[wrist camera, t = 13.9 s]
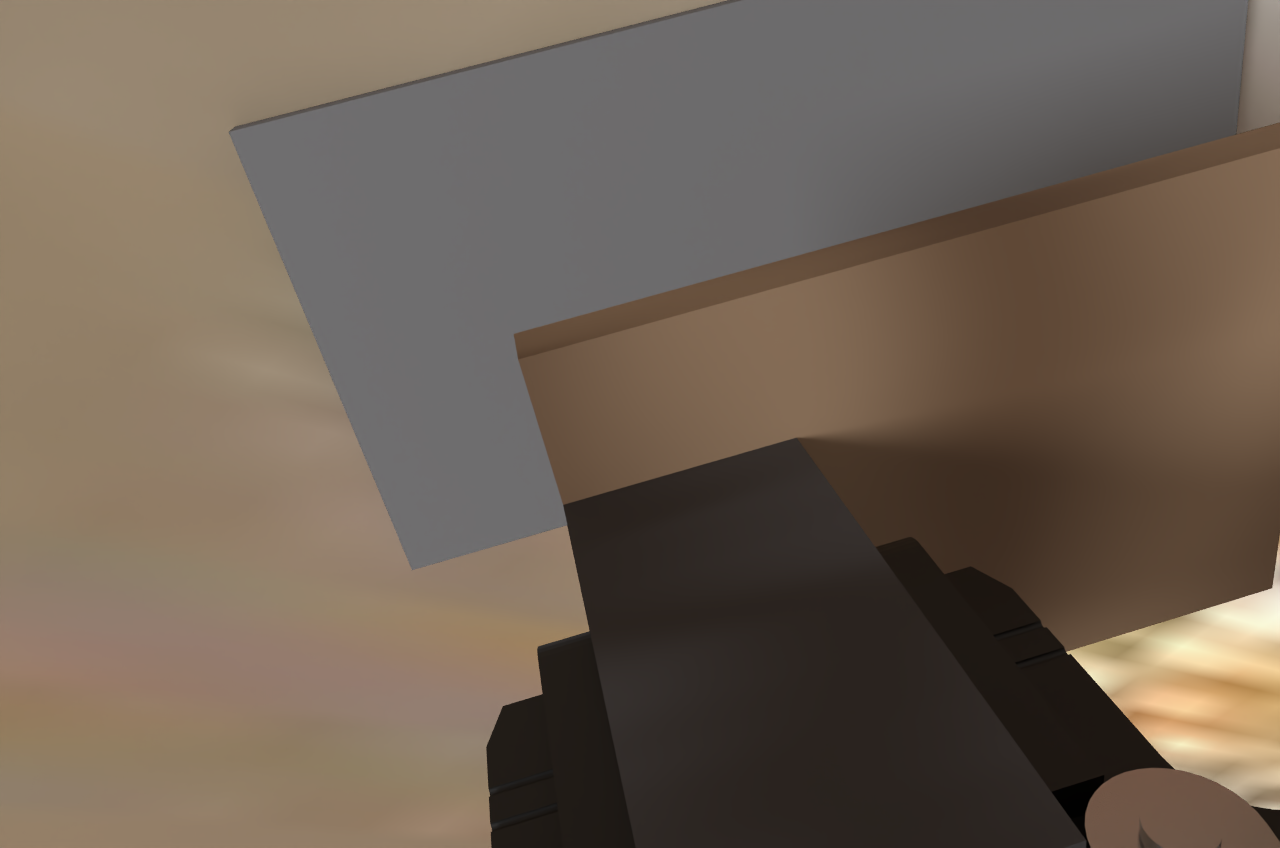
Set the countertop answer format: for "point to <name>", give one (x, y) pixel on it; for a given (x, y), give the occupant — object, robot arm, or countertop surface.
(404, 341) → the mat
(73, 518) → the countertop surface
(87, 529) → the countertop surface
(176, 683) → the countertop surface
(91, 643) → the countertop surface
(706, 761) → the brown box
